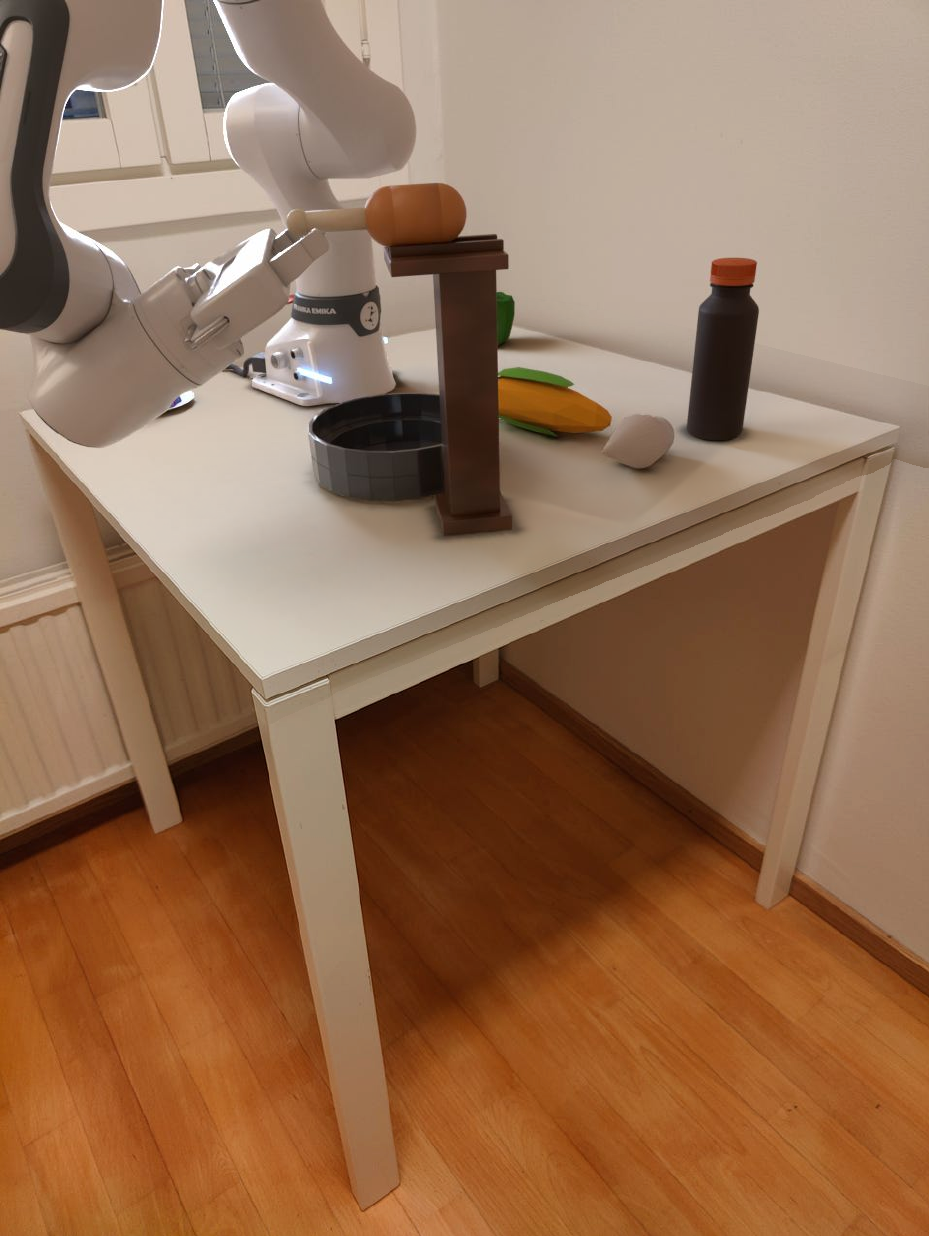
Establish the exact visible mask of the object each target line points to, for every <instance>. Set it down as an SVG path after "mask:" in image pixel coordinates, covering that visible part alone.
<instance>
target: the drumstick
mask: <svg viewBox="0 0 929 1236" xmlns="http://www.w3.org/2000/svg"><path fill="white" fill-rule="evenodd" d="M466 221H467V207H466V203H465V200H464V199H463V197H462V195H461V194H460V192H459V191H458V190H457V189H456V188H454V187H453V186H451V185H449V184H448V183H447V184H446V183H443V182H429V183H411V184H409V183H408V184H394V185H385V186H381V187H379V188H377V189H376V190H375V191H373V193H371V194H370V195H369V197H368V198H367V200H366V202H365V204H364V207H354V208H353V207H352V208H346V209H334V210H317V211H304V210H301V209H295V210H292V211H291V212H290V213H289V214H288V216H287V219H286V224H287V228H288V230H289V231H290V232H291V233H292V234H293V235H295V236H304V235H305V234H307V233H308V232H310V231H311V230H312V229H314V228H319V229H320V230H321V231H322V232H338V231H354V230H367V231H368V233H369V235H370V236H371V237H372V240H373V241H374V242H376V243H377V244H379V245H380V246H383V247H389V246H402V245H417V244H432V243H448V242H451V241H453V240H454V239H456V238H457V237H458V236H461V235H460V234H461V233H462V232H463V230H464V229H465V226H466Z"/></svg>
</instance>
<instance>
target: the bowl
mask: <svg viewBox="0 0 929 1236" xmlns="http://www.w3.org/2000/svg"><path fill="white" fill-rule="evenodd" d="M307 435H308V442H309V450H310V457H311V463H312V470H313V471H312V472H313V477H314V479H315V480H316V482H317V483H318V484H319V486H320V487H322V488H323V489H325V490H327V491H329V492H331V493H333V494H336V495H339V496H342V497H346V498H349V499H354V500H355V499H356V500H362V501H371V502H401V501H411V500H419V499H425V498H429V497H430V498H431V497H435V496H434V495H435V494H442V493H445V488H444V470H443V451H442V433H441V414H440V396H439V393H432V392H431V393H430V392H394V393H393V392H392V393H391V392H390V393H386V394H380V395H373V396H367V397H361V398H357V399H353V400H349V401H346V402H342V403H335V404H334V405H332V406H330V407H327V408H325V409H323V410H321V411H320V412H318V413H316V414H315V415H314V416H313V417H312V418H311V419H310V420H309V423H307Z"/></svg>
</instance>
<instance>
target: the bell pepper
mask: <svg viewBox="0 0 929 1236" xmlns="http://www.w3.org/2000/svg"><path fill="white" fill-rule="evenodd" d="M515 303H516V302H515V300H514V298H513V296H512V295H510V294H506V293H505V292H504V291H497V342H498V346H499V345H502V344H503V343H506V342H508V340H509V338H510V337H511V332H512V328H513V324H514V318H515V312H516V311H515V308H516V307H515V306H516V305H515Z"/></svg>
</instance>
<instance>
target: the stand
mask: <svg viewBox="0 0 929 1236" xmlns="http://www.w3.org/2000/svg"><path fill="white" fill-rule="evenodd" d="M504 242H505V240H504V239H503V238H498V235H497V233H487V234H475V235H474V234H473V235H472V234H471V235H459V236H458V237H457V238H456V239H454V240H453V241H451V242H448V243H432V244H417V245H402V246H389V247H385V246H383V257H384V262H385V264H386V267H387V269H388V272H389V275H390V277H391V278H403V277H414V276H415V277H416V276H430V275H432V281H433V283H432V284H433V299H434V300H433V301H434V319H435V321H434V323H435V339H436V340H435V341H436V357H437V358H436V359H437V372H438V375H437V376H438V377H437V378H438V392H439V393H438V394H439V396H440V414H441V433H442V451H443V470H444V488H445V493H442V494H435V495H434V496H433V497H434V508H435V513H436V515H437V518H438V522H439V525H440V529H441V532H442V536H443V537H450V536H462V535H469V534H471V535H472V534H480V533H491V532H497V531H498V532H500V531H509V530H513V515H512V512H511V510H510V508H509V505H508V504H507V501H506V499H505V497H504V495H503V493H502V491H501V475H500V474H501V464H500V463H501V462H500V460H501V459H500V418H499V400H498V377H499V375H498V373H499V354H498V353H499V350H498V346H499V345H498V342H497V292H498V291H497V289H498V287H497V271H503V270H509V265H510V263H509V260H510V259H509V253H508V252H506V251H505V243H504Z"/></svg>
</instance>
